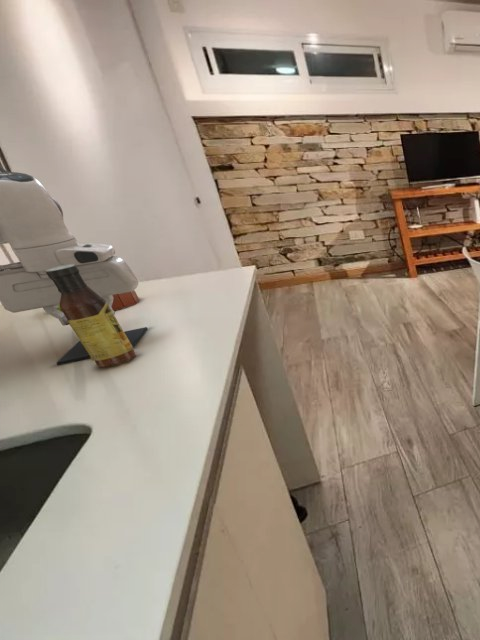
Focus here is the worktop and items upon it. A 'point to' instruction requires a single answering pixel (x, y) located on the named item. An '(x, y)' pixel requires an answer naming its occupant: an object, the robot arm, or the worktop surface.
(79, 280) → the sauce bottle
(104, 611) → the worktop surface
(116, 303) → the pot
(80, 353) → the mat
